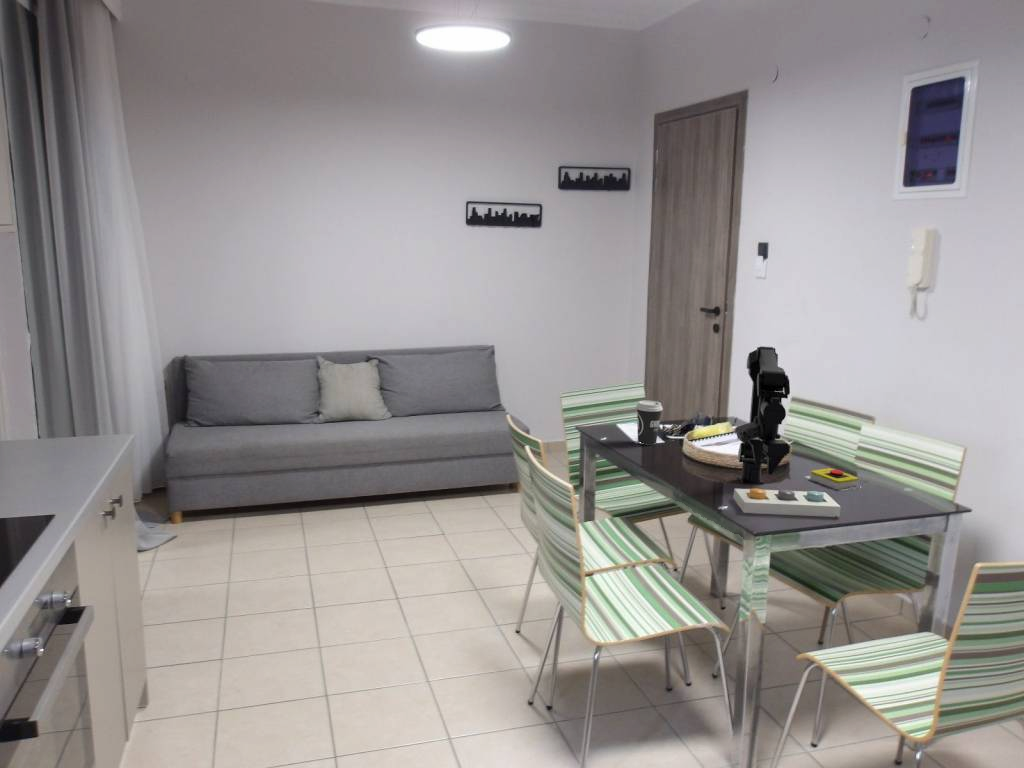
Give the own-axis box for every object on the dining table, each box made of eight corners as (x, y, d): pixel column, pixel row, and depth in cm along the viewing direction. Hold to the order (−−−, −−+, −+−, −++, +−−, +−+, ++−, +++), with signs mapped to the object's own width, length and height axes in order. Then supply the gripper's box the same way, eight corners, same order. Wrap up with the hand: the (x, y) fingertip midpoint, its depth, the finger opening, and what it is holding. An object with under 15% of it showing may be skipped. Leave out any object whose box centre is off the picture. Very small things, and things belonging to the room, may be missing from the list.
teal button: (804, 499, 226) (804, 490, 225) (819, 499, 226) (820, 491, 225) (809, 504, 222) (810, 495, 221) (825, 504, 221) (826, 496, 221)
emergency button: (843, 479, 240) (804, 465, 253) (841, 493, 241) (803, 478, 254) (864, 475, 244) (825, 462, 257) (862, 489, 245) (824, 475, 258)
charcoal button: (775, 497, 226) (776, 489, 226) (791, 498, 226) (792, 490, 226) (780, 503, 222) (781, 494, 221) (796, 503, 222) (796, 495, 221)
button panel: (733, 498, 231) (734, 488, 230) (824, 502, 230) (825, 492, 229) (743, 512, 219) (744, 502, 218) (839, 517, 218) (840, 506, 217)
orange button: (747, 496, 226) (747, 488, 226) (762, 497, 226) (763, 488, 226) (751, 501, 222) (752, 493, 222) (767, 502, 222) (767, 493, 221)
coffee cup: (645, 448, 282) (647, 406, 279) (628, 441, 290) (630, 401, 287) (665, 445, 286) (668, 404, 283) (648, 438, 294) (651, 399, 292)
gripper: (728, 406, 227) (723, 459, 230) (753, 423, 209) (747, 480, 212) (766, 406, 228) (761, 459, 231) (794, 423, 210) (787, 480, 213)
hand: (763, 469), depth 222 cm, fingers open, 9 cm apart
